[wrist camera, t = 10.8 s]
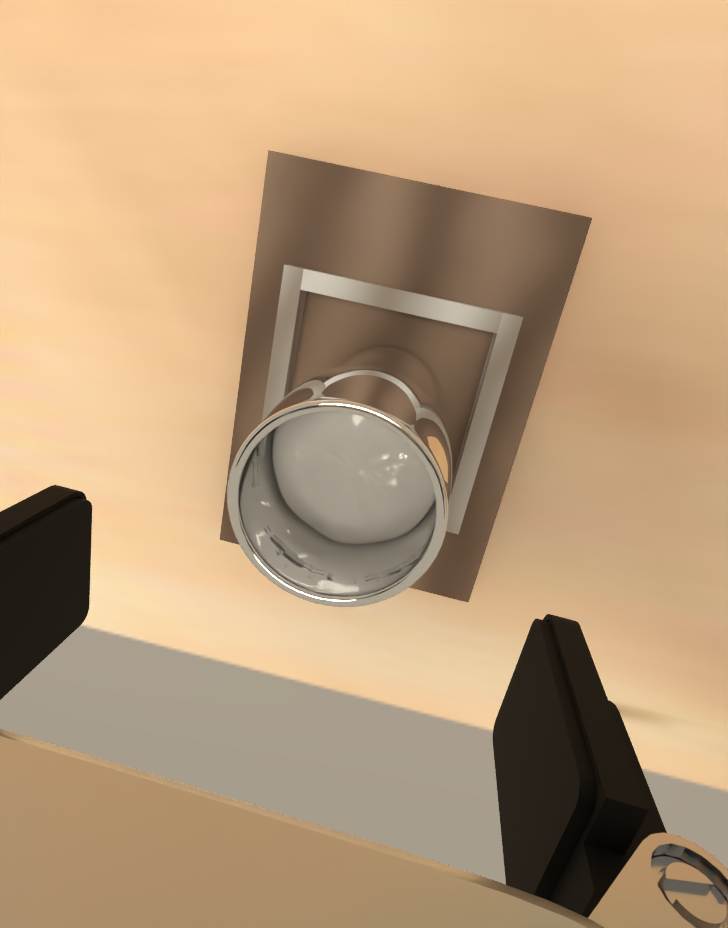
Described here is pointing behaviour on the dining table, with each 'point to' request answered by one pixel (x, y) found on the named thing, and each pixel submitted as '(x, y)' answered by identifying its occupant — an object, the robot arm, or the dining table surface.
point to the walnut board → (410, 316)
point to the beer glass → (347, 482)
